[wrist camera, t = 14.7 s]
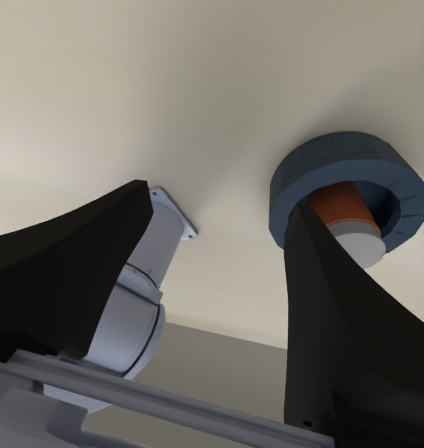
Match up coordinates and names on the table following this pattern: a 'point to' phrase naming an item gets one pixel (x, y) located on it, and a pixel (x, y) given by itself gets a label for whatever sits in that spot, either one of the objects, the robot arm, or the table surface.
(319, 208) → the shaker
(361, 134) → the dark blue bowl
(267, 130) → the table surface
